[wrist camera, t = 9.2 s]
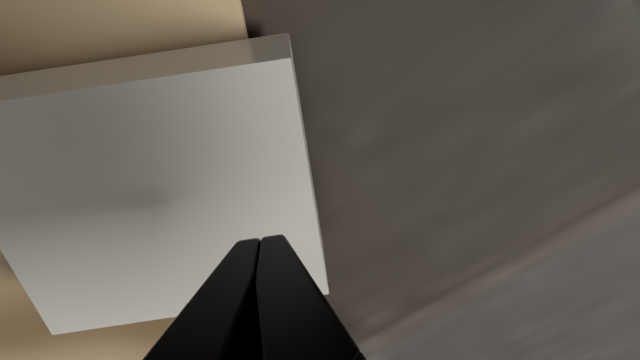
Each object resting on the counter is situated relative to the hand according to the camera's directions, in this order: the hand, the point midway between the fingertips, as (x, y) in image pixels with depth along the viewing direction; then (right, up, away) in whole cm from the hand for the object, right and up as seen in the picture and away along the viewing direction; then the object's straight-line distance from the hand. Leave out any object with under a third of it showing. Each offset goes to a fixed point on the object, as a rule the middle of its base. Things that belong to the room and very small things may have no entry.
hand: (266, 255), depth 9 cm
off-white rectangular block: (+1, +2, +3) cm, 3 cm away
